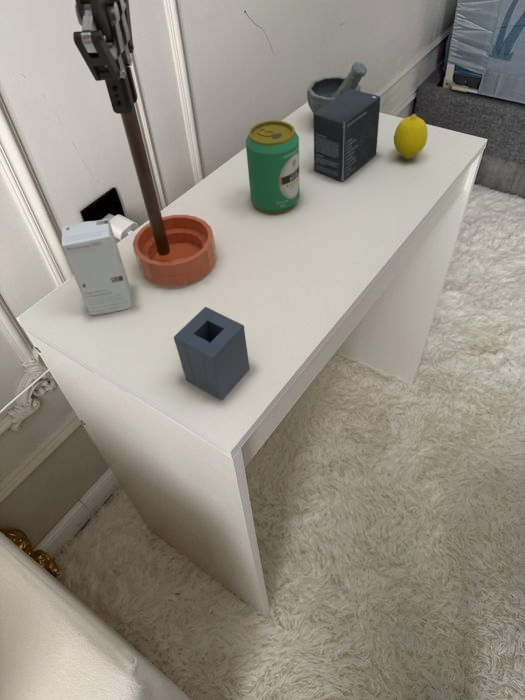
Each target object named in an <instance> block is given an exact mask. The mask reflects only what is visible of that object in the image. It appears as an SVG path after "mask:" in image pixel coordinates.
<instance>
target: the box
mask: <svg viewBox="0 0 525 700" xmlns="http://www.w3.org/2000/svg"><path fill="white" fill-rule="evenodd" d="M380 109H381V95H377V94H374V93H369V92H364V91H361V90H360V91H357V90H353V89H348V90H347V91H346V92H344V93H343V94H341V95H340V96H338V97H337V98H335V99H334V100H332V101H331V102H329V103H328V104H326V105H325V106H323V107H322V108H320V109H319V110H317V111H316V112H314V113H313V112H312V115H313V171H315V172H317V173H320V174H322V175H325V176H327V177H330V178H333V179H335V180H338V181H340V182H344V181H346V180H347V179H348V178H349V177H351V175H353V174H354V173H355V172H356V171H359V169H360V168H362V167H363V166H365V164H366V163H368V162H369V161H370V160H371V159H373V158H374V157H375V156H376V155H377V150H378V149H377V148H378V137H379V123H380V111H381V110H380Z"/></svg>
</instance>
